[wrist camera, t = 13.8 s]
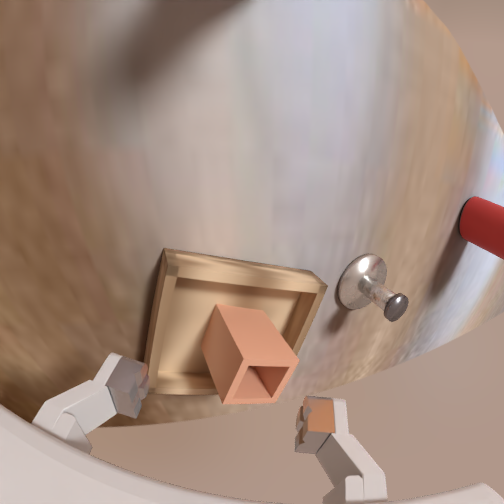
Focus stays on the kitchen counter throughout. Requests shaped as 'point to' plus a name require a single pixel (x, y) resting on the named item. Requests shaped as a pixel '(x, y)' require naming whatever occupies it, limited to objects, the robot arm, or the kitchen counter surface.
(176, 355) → the tray
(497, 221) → the beer can
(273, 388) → the collar
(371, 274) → the silver knob
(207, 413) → the kitchen counter surface
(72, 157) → the kitchen counter surface
